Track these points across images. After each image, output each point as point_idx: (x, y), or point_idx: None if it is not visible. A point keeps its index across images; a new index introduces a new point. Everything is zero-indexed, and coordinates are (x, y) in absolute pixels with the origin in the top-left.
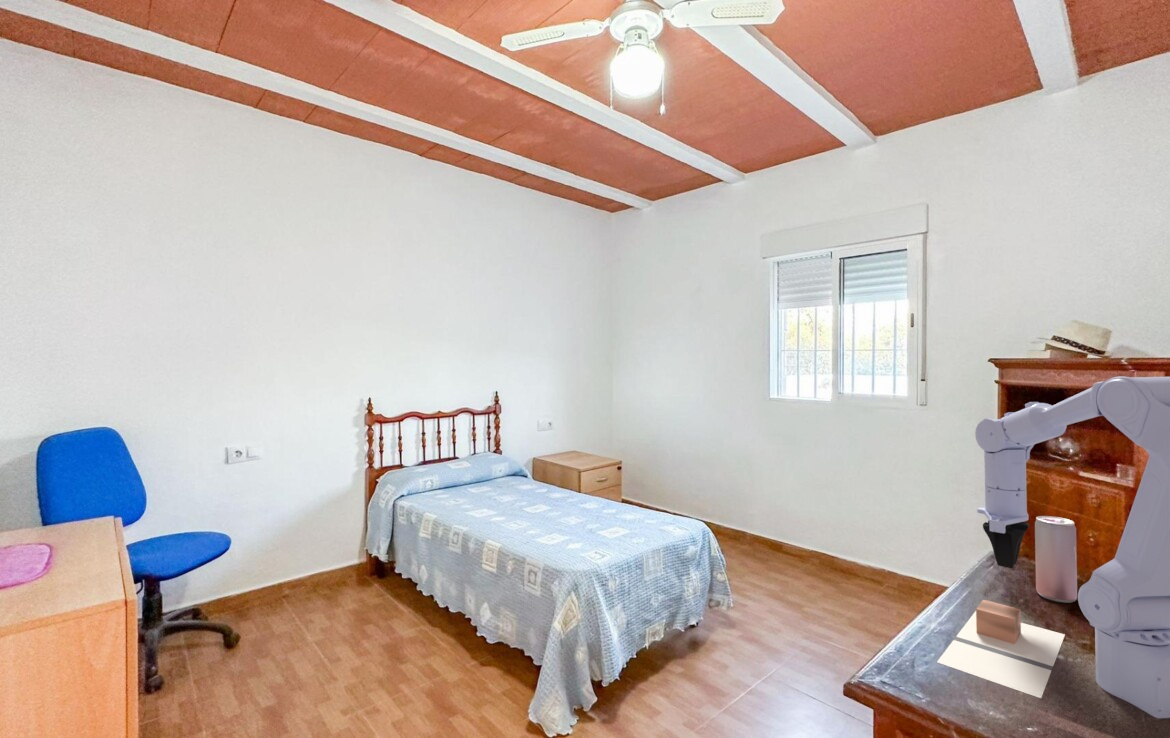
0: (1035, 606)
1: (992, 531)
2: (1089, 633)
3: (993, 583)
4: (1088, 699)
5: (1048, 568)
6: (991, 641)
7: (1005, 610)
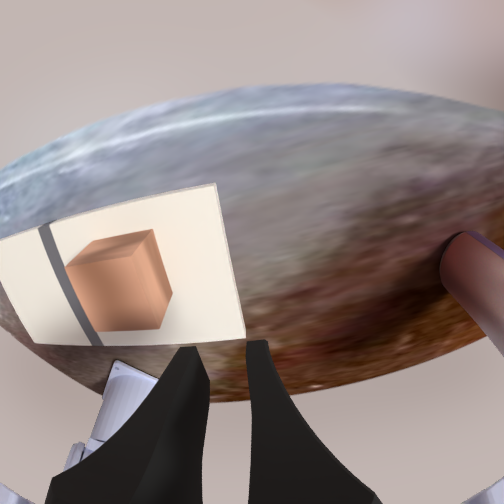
0: (392, 249)
1: (7, 487)
2: (317, 339)
3: (464, 150)
4: (92, 366)
5: (480, 294)
6: None
7: (118, 311)
